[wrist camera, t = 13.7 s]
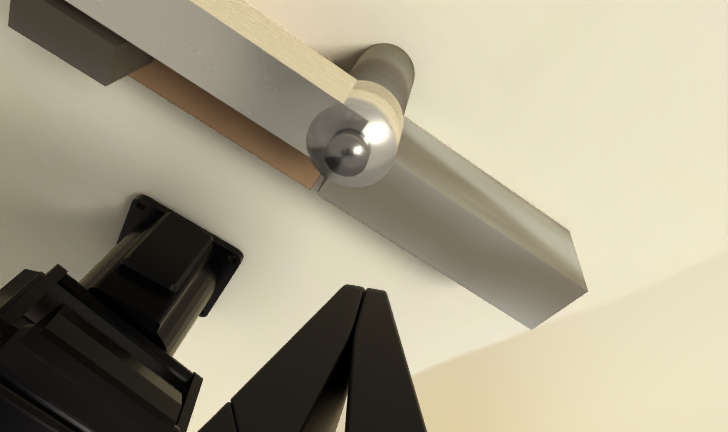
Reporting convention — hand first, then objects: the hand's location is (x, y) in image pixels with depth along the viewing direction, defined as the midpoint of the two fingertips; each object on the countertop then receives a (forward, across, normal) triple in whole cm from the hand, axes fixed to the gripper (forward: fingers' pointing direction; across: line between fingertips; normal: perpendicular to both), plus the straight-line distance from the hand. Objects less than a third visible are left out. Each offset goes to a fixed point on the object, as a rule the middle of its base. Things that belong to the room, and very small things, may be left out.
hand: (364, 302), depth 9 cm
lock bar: (+7, +5, -3) cm, 9 cm away
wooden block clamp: (+12, +2, 0) cm, 12 cm away
